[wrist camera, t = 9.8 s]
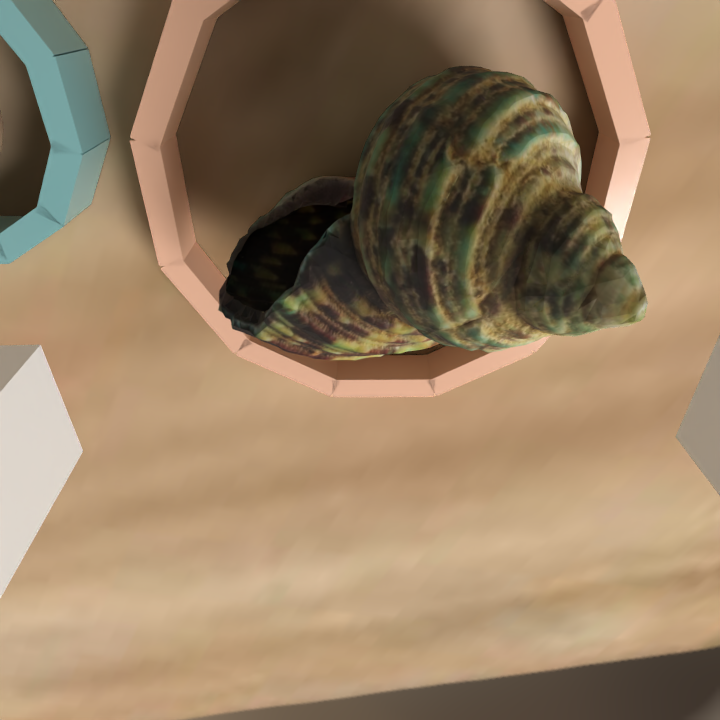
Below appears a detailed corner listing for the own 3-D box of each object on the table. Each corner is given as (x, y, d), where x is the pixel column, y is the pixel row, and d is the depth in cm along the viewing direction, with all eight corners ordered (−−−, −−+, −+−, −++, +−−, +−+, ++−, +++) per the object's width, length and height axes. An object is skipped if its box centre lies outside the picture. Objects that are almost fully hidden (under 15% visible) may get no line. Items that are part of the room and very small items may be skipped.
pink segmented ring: (200, 372, 27) (189, 397, 25) (99, -104, 17) (70, -114, 15) (563, 371, 27) (577, 396, 25) (686, -108, 17) (723, -118, 15)
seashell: (292, -9, 18) (230, -38, 10) (592, 104, 20) (761, 164, 11) (233, 271, 24) (159, 412, 15) (474, 341, 25) (529, 502, 17)
